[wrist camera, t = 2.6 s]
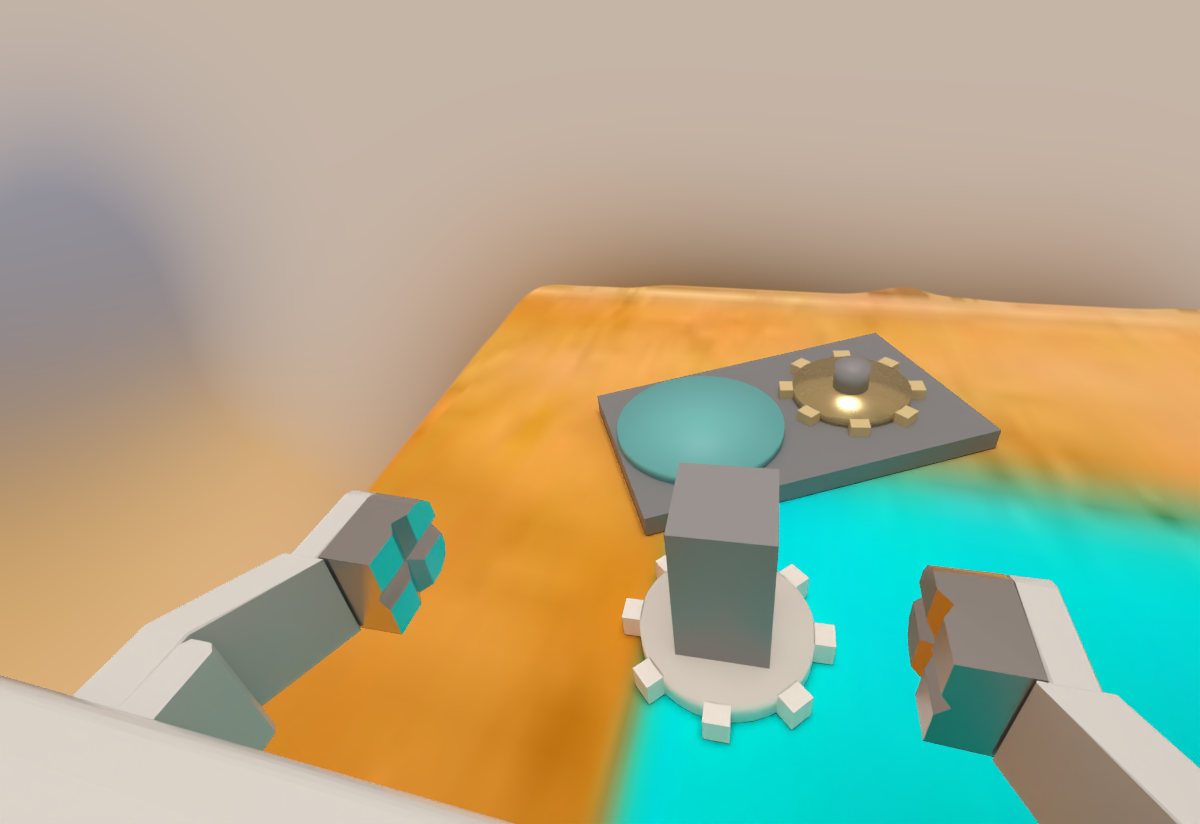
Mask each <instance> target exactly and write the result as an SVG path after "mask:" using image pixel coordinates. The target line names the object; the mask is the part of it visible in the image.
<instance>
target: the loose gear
mask: <svg viewBox="0 0 1200 824" xmlns="http://www.w3.org/2000/svg"><path fill="white" fill-rule="evenodd" d="M664 540H665V551H666V555H665V556H663V557H661V558H660V559H658V560H656V561H655V563H656V572H657V578H658V579H657V580H656V582H655V583H654V584H653V585H652V587H651V588H650V590H649V591H648V593H647V595H646V597H645V599H644V600H638V599H630V598H627V599H626V603H625V607H624V611H623V615H622V621H623V626H624V632H625V634H627V635H634V636H641V640H642V647H643V653H644V657H645V660H644V661H643V662H641V663H640V664H638V665H637V666H635V667H634V668H633V674H634V679H635V685H636V686H637V688H638V689H639V691H640V692H641V693H642V695H643V696H644V698H645V699H646V701H647V702H648V703H649V704H651V703H652V702H654V701H655V700H657V699H658V698H660V697H661V696H662V695H664V694H666V695H667V696H668V697H670V698H671V699H672V700H673V701H674V702H676V703H677V704H678V705H680V706H681V707H683V708H684V709H686V710H688V711H690V712H692V713H694V714H696V715H699V716H701V717H702V735H703V739H708V740H713V741H719V742H724V743H729V744H730V732H731V723H732V722H748V721H755V720H758V719H762V718H765V717H768V716H770V715H772V714H774V713H777V714H778V715H779V716H780V717H781V719H782V720H783V721H784V722H785V723H786V724H787V725H788V726H789V728H790V729H791V730H792V729H793V728H795V727H796V726H797V725H798V724H800V723H801V722H802V721H803V720H805V719H806V718H807V717H809V716H810V715H811V711H812V705H813V699H814V698H813V696H812V695H811V694H810V693H809V692H808V691H807V690H806V689H805V688H804V685H805V683H806V682H807V679H808V677H809V674H810V671H811V666H812V662H817V663H824V664H831V665H833V662H834V657H835V651H836V637H835V625H830V624H822V623H814V620H813V617H812V613H811V611H810V609H809V606H808V604H807V602H806V601H805V599H804V598H805V597H806V596H807V591H808V583H809V578H808V577H807V576H806V575H805V574H804V573H802V572H801V571H800V570H799V569H798V568H796V567H795V566H794V565H793V564H791V565H789V566H788V567H786V568H785V569H783V570H782V571H780V572H778V571H777V562H778V549H779V469H770V468H755V467H740V466H725V465H710V464H695V463H679V466H678V470H677V475H676V480H675V485H674V490H673V495H672V499H671V504H670V509H669V514H668V519H667V524H666V528H665V533H664Z"/></svg>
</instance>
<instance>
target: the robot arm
mask: <svg viewBox="0 0 1200 824" xmlns="http://www.w3.org/2000/svg"><path fill="white" fill-rule="evenodd" d="M434 517H435V514H434V511H433V509H432V507H431V504H430V502H426V501H423V500H418V499H411V498H405V497H399V496H392V495H386V494H380V493H371V492H365V491H358V490H353V491H351V492H349V493H347V494H345V495H344V496H343V497H342V498H341V499H340V500H339V502H338V503H337V504H336V505H335V506H334V507H333V508H332V509H331V510H330V512H329V513H328V514H327V515H326V516H325V517H324V518H323V519H322V521H321V522H320V523H319V524H318V525H317V526H316V527H315V528H314V529H313V530H312V532H311V533H310V534H309V535H308V536H307V537H306V538H305V539H304V541H303V542H302V543H301V544H300V545H299V546H298V547H297V548H296V549H295V550H294V552H293V553H292V554H290V553H283V554H281V555H279V556H277V557H275V558H274V559H272V560H270V561H268V562H266V563H264V564H262V565H260V566H258V567H256V568H254V569H252V570H250V571H248V572H246V573H245V574H243V575H241V576H239V577H237V578H235V579H233V580H231V581H229V582H227V583H225V584H223V585H221V586H219V587H217V588H216V589H214V590H212V591H210V592H208V593H206V594H204V595H202V596H200V597H198V598H196V599H194V600H192V601H190V602H188V603H187V604H185V605H183V606H181V607H179V608H177V609H175V610H173V611H171V612H169V613H167V614H165V615H163V616H162V617H159V618H158V619H156V620H154V621H152V622H150V623H148V624H146V625H144V626H143V627H142V628H141V629H140V631H138V632H137V633H136V634H135V635H134V636H133V637H132V638H131V639H130V640H129V641H128V642H127V643H126V644H125V645H124V646H123V647H122V648H121V649H120V650H119V651H118V652H117V653H116V654H115V655H114V656H113V657H112V658H111V659H110V660H109V661H108V662H107V663H106V664H105V665H104V666H103V667H101V668H100V669H99V670H98V671H97V672H96V673H95V674H94V675H93V677H91V678H90V679H89V680H88V681H87V682H86V683H85V684H84V685H83V686H82V687H81V688H80V689H79V690H78V691H77V692H76V693H75V694H74V695H73V696H70V695H67V694H63V693H60V692H56V691H53V690H49V689H46V688H42V687H39V686H35V685H32V684H28V683H25V682H21V681H17V680H14V679H11V678H7V677H4V676H0V824H515V823H511V822H508V821H504V820H501V819H497V818H494V817H490V816H487V815H483V814H480V813H476V812H473V811H470V810H466V809H463V808H459V807H456V806H452V805H449V804H445V803H442V802H438V801H435V800H431V799H428V798H424V797H421V796H418V795H414V794H411V793H407V792H404V791H400V790H397V789H393V788H390V787H386V786H383V785H379V784H376V783H372V782H369V781H365V780H362V779H358V778H355V777H352V776H348V775H345V774H341V773H338V772H334V771H331V770H327V769H324V768H320V767H317V766H313V765H310V764H306V763H303V762H299V761H296V760H292V759H289V758H286V757H282V756H279V755H275V754H272V753H268V752H265V751H263V750H264V748H265V747H266V745H267V744H268V743H269V741H270V740H271V738H272V737H273V735H274V734H275V732H276V730H275V723H274V722H273V720H272V719H271V718H270V717H269V715H268V714H267V713H266V712H265V710H264V709H263V708H262V706H263V705H264V704H265V703H267V702H268V701H269V700H271V699H272V698H273V697H275V696H276V695H277V694H278V693H280V692H281V691H282V690H284V689H285V688H286V687H288V686H289V685H290V684H291V683H293V682H294V681H295V680H297V679H298V678H299V677H301V676H302V675H303V674H304V673H306V672H307V671H308V670H310V669H311V668H312V667H314V666H315V665H316V664H318V663H319V662H320V661H321V660H323V659H324V658H325V657H327V656H328V655H329V654H331V653H332V652H333V651H334V650H336V649H337V648H338V647H340V646H341V645H342V644H344V643H345V642H346V641H347V640H349V639H350V638H351V637H353V636H354V635H355V634H357V633H358V632H359V631H360V630H361V629H360V628H366V629H372V630H378V631H384V632H390V633H396V634H401V635H402V634H403V632H404V631H405V629H406V628H407V626H408V624H409V623H410V621H411V619H412V618H413V616H414V615H415V613H416V611H417V610H418V608H419V606H420V605H421V596H420V592H421V591H422V590H424V589H426V588H427V587H429V586H430V585H432V584H433V583H434V582H435V580H436V578H437V577H438V575H439V573H440V572H441V569H442V566H443V562H444V558H445V542H444V539H443V536H442V533H441V532H440V531H439V530H438V529H437V528H436V527H434V526H433V525H432V524H431V522H432V521H433V519H434ZM920 588H921V593H922V597H921V598H920V599H918V600H916V601H914V602H913V605H912V609H911V613H910V617H909V627H908V647H909V656H910V663H911V667H912V668H913V669H914V670H915V671H916V672H917V674H918V675H919V676H920V677H921V681H920V683H919V686H918V689H917V692H916V701H917V707H918V713H919V719H920V725H921V731H922V737H923V741H926V742H930V743H935V744H939V745H943V746H948V747H952V748H957V749H961V750H965V751H970V752H974V753H978V754H983V755H987V756H992V757H994V758H993V762H994V763H995V764H996V766H997V767H998V768H999V770H1000V771H1001V772H1002V774H1003V775H1004V777H1005V778H1006V779H1007V781H1008V782H1009V783H1010V785H1011V786H1012V787H1013V789H1014V790H1015V792H1016V793H1017V794H1018V796H1019V797H1020V798H1021V800H1022V801H1023V802H1024V804H1025V805H1026V807H1027V808H1028V809H1029V811H1030V812H1031V813H1032V815H1033V816H1034V817H1035V819H1036V820H1037V822H1038V823H1039V824H1200V768H1199V767H1198V766H1196V765H1195V764H1194V763H1193V762H1192V761H1191V760H1190V759H1189V758H1187V757H1186V756H1185V755H1184V754H1183V753H1182V752H1181V751H1180V750H1178V749H1177V748H1176V747H1175V746H1174V745H1173V744H1172V743H1171V742H1169V741H1168V740H1167V739H1166V738H1165V737H1164V736H1163V735H1162V734H1160V733H1159V732H1158V731H1157V730H1156V729H1155V728H1154V727H1153V726H1151V725H1150V724H1149V723H1148V722H1147V721H1146V720H1145V719H1144V718H1142V717H1141V716H1140V715H1139V714H1138V713H1137V712H1136V711H1135V710H1133V709H1132V708H1131V707H1130V706H1129V705H1128V704H1127V703H1126V702H1124V701H1123V700H1122V699H1121V698H1120V697H1119V696H1118V695H1115V694H1110V693H1105V692H1102V689H1101V687H1100V685H1099V682H1098V680H1097V678H1096V675H1095V673H1094V671H1093V668H1092V666H1091V664H1090V661H1089V659H1088V657H1087V654H1086V652H1085V650H1084V647H1083V645H1082V643H1081V640H1080V638H1079V636H1078V633H1077V631H1076V629H1075V626H1074V624H1073V622H1072V619H1071V617H1070V615H1069V612H1068V610H1067V608H1066V605H1065V603H1064V601H1063V598H1062V596H1061V594H1060V591H1059V589H1058V587H1057V586H1056V585H1055V584H1054V583H1053V582H1052V581H1051V580H1044V579H1036V578H1028V577H1020V576H1012V575H1007V576H1006V575H1004V574H998V573H989V572H981V571H973V570H964V569H956V568H948V567H939V566H931V565H927V567H926V568H925V569H924V570H923V573H922V576H921V579H920Z"/></svg>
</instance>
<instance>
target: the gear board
mask: <svg viewBox="0 0 1200 824" xmlns="http://www.w3.org/2000/svg"><path fill="white" fill-rule="evenodd" d="M598 403H599V409H600V413H601V416H602V418H603V421H604V424H605V426H606V429H607V432H608V435H609V437H610V440H611V443H612V445H613V448H614V451H615V453H616V456H617V459H618V461H619V464H620V467H621V469H622V472H623V475H624V477H625V480H626V483H627V486H628V488H629V491H630V494H631V496H632V499H633V502H634V504H635V507H636V510H637V512H638V515H639V518H640V520H641V523H642V526H643V529H644V531H645V534H646V536H648V535H652V534H656V533H660V532H664V531H665V528H666V524H667V519H668V514H669V509H670V504H671V499H672V495H673V490H674V485H675V480H676V475H677V470H678V466H679V463H695V464H710V465H725V466H740V467H755V468H770V469H779V502H782V501H786V500H790V499H794V498H798V497H802V496H806V495H810V494H814V493H818V492H822V491H826V490H830V489H834V488H838V487H842V486H846V485H850V484H854V483H858V482H862V481H866V480H870V479H873V478H877V477H881V476H885V475H889V474H893V473H897V472H901V471H905V470H909V469H913V468H917V467H921V466H925V465H929V464H933V463H937V462H941V461H945V460H949V459H953V458H957V457H961V456H965V455H969V454H973V453H976V452H980V451H984V450H988V449H992V448H995V447H996V444H997V441H998V438H999V435H1000V432H1001V429H999V428H998V427H997V426H995V425H994V424H993V423H991V422H990V421H989V420H988V419H986V418H985V417H984V416H982V415H981V414H980V413H979V412H977V411H976V410H975V409H973V408H972V407H971V406H969V405H968V404H967V403H966V402H964V401H963V400H962V399H960V398H959V397H958V396H957V395H955V394H954V393H953V392H951V391H950V390H949V389H947V388H946V387H945V386H944V385H942V384H941V383H940V382H938V381H937V380H936V379H934V378H933V377H932V376H931V375H929V374H928V373H927V372H925V371H924V370H923V369H922V368H920V367H919V366H918V365H916V364H915V363H914V362H912V361H911V360H910V359H909V358H907V357H906V356H905V355H903V354H902V353H901V352H899V351H898V350H897V349H896V348H894V347H893V346H892V345H890V344H889V343H888V342H887V341H885V340H884V339H883V338H881V337H880V336H879V335H877V334H876V333H873V334H869V335H865V336H860V337H856V338H851V339H847V340H843V341H838V342H834V343H829V344H825V345H821V346H816V347H812V348H807V349H803V350H799V351H794V352H790V353H785V354H781V355H777V356H772V357H768V358H763V359H759V360H755V361H750V362H746V363H741V364H737V365H733V366H728V367H724V368H719V369H715V370H711V371H706V372H702V373H697V374H693V375H689V376H684V377H680V378H675V379H671V380H667V381H662V382H658V383H653V384H649V385H645V386H640V387H636V388H631V389H627V390H623V391H618V392H614V393H609V394H605V395H601V396H598Z"/></svg>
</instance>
